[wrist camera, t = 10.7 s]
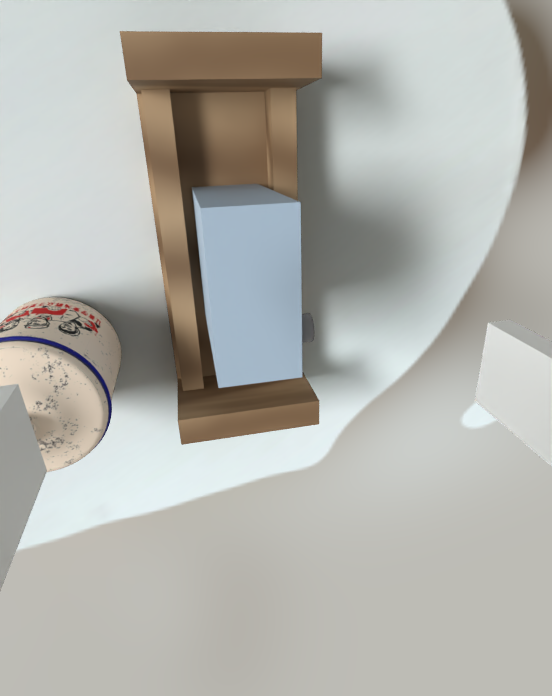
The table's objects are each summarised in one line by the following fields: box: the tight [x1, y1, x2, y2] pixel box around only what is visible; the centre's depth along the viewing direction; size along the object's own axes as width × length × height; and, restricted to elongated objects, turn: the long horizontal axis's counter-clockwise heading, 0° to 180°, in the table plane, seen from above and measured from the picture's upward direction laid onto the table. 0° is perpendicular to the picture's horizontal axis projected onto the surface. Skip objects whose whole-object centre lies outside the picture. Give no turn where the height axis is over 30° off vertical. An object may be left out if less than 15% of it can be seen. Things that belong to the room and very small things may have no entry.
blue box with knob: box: [192, 184, 314, 388], centre depth 27 cm, size 9×6×12 cm, turn 2°
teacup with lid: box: [0, 297, 121, 472], centre depth 28 cm, size 12×9×12 cm
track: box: [120, 31, 322, 444], centre depth 30 cm, size 24×10×7 cm, turn 2°
